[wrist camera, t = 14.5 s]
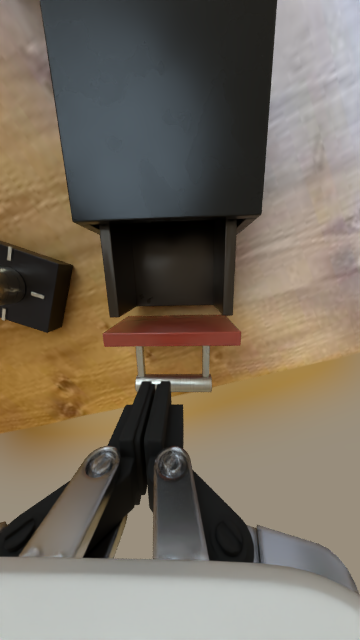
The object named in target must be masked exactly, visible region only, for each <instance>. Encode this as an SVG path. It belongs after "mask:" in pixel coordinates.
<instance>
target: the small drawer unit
mask: <svg viewBox="0 0 360 640" xmlns="http://www.w3.org/2000/svg"><path fill="white" fill-rule="evenodd" d="M40 6H41V12H42V19H43V26H44V33H45V39H46V46H47V53H48V59H49V66H50V73H51V80H52V86H53V93H54V100H55V106H56V113H57V120H58V127H59V133H60V140H61V147H62V153H63V160H64V167H65V174H66V180H67V187H68V194H69V200H70V207H71V214H72V221H73V222H74V223H76V224H78V225H80V226H82V227H84V228H87V229H89V230H91V231H93V232H95V233H97V234H99V235H100V230H99V224H116V223H142V222H168V221H195V220H221V219H237V229H236V235H237V234H238V233H240V232H241V231H242V230H243V229H244V228H246V227H247V226H248V225H249V224H251V223H252V222H253V221H254V220H255V219H257V218H258V217H259V216H260V215H261V214H262V200H263V187H264V173H265V159H266V146H267V132H268V118H269V105H270V91H271V77H272V63H273V50H274V36H275V22H276V9H277V0H40Z"/></svg>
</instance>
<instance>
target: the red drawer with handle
mask: <svg viewBox="0 0 360 640" xmlns="http://www.w3.org/2000/svg"><path fill="white" fill-rule="evenodd" d="M236 229H237V219H221V220H195V221H168V222H142V223H116V224H99V230H100V238H101V247H102V255H103V264H104V272H105V281H106V289H107V297H108V306H109V314H110V317H120V316H122V315H123V314H125V313H127V312H128V311H130V310H132V309H133V308H135V307H136V306H179V305H214V306H215V307H216V308H217V309H218V311H219V312H220V313H221V314H222V315H164V316H128V317H126V318H125V319H123V320H122V321H120V322H119V323H118V324H116V325H115V326H113V327H112V328H110V329H109V330H107V331H106V332H104V333H103V341H104V346H105V347H120V346H136V356H137V367H138V375H137V377H136V382H135V388H136V391H137V392H138V390H139V387H140V385H141V382H142V381H152V384H155V388H156V387H157V384H160V383H161V381H170V383H171V392H211V391H212V379H211V374H209V354H210V346H235V345H240V344H241V331H240V330H239V329H238V328H237V327H236V326H235V325H234V324H233V323H232V322H231V321H230V320H229V319H228V318H227V317H226V316H228V315H233V296H234V274H235V251H236ZM144 346H202V374H146V371H145V358H144Z"/></svg>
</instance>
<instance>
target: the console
mask: <svg viewBox="0 0 360 640" xmlns="http://www.w3.org/2000/svg"><path fill="white" fill-rule="evenodd" d="M0 266H7V267H10V268H12V269H14V270H15V271H17V272H18V273H19V274H20V276H21V277H22V279H23V281H24V283H25V294H24V297H23V298H22V299H21V300H20V301H19V302H17V303H13V304H7V305H1V306H0V318H2V320H4V321H5V320H9V321H13V322H16V323H19V324H22V325H25V326H28V327H31V328H34V329H37V330H40V331H43V332H47V333H48V332H51V331H53V330H55V329H58V328H60V327H62V323H63V317H64V312H65V306H66V301H67V295H68V290H69V284H70V279H71V273H72V268H73V265H71V264H68V263H65V262H62V261H59V260H56V259H53V258H50V257H47V256H44V255H41V254H38V253H35V252H33V251H30V250H27V249H24V248H21V247H18V246H15V245H12V244H9V243H6V242H3V241H0Z"/></svg>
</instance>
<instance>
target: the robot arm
mask: <svg viewBox="0 0 360 640" xmlns="http://www.w3.org/2000/svg"><path fill="white" fill-rule="evenodd" d="M147 484H148V495H149V506H150V509H151V510H152V512H153V559H114V556H115V553H116V550H117V547H118V544H119V542H120V539H121V536H122V533H123V530H124V527H125V524H126V520H127V514H128V513H129V512H130V511H131V510H132V509H133V508H134V505H139V504H140V499H141V495H145V493H146V489H147ZM0 640H360V595H359V592H358V590H357V587H356V585H355V583H354V580H353V579H352V577H351V575H350V573H349V571H348V570H347V568H346V567H345V565H344V564H343V563H342V562H341V560H340V559H339V558H338V557H337V556H336V555H335V554H333V553H332V552H331V551H330V550H329V549H328V548H326V547H324V546H322V545H320V544H317V543H314V542H311V541H307V540H305V539H301V538H298V537H295V536H292V535H288V534H285V533H282V532H279V531H275V530H272V529H269V528H266V527H263V526H260V525H257V528H254V527H251V526H248V525H246V524H245V523H244V522H243V520H242V519H241V518H240V517H239V516H238V515H237V514H236V513H235V512H234V511H233V510H232V509H231V508H230V507H229V506H228V505H227V504H226V503H225V502H224V501H223V500H222V499H221V498H220V497H219V496H218V495H217V494H216V493H215V492H214V491H213V490H212V489H211V488H210V487H209V486H208V485H207V484H206V483H205V482H204V481H203V480H202V479H201V478H200V477H199V476H198V475H197V474H196V473H195V472H194V471H193V470H192V466H191V461H190V457H189V455H188V453H187V452H186V451H185V450H184V449H183V405H171V383H170V381H161V383H160V384H157V387H156V388H155V384H152V381H142V382H141V385H140V387H139V390H138V392H137V395H136V397H135V400H134V403H133V405H126V406H125V408H124V410H123V412H122V415H121V417H120V419H119V422H118V423H117V426H116V428H115V430H114V432H113V435H112V437H111V439H110V441H109V444H108V446H104V447H100V448H98V449H96V450H94V451H93V452H92V453H90V454H89V455H88V457H87V458H86V459H85V460H84V462H83V463H82V464H81V466H80V467H79V469H78V470H77V472H76V473H75V475H74V476H73V478H72V479H71V480H70V481H69V482H67V483H66V484H65V485H63V486H62V487H60V488H59V489H57V490H56V491H54V492H53V493H51V494H50V495H49V496H47V497H46V498H44V499H43V500H41V501H40V502H38V503H37V504H36V505H34V506H33V507H31V508H30V509H28V510H27V511H25V512H24V513H22V514H21V515H19V516H18V517H17V518H16V519H15V520H13V521H12V522H11V523H10V524H8V525H7V524H6V522H1V523H0Z"/></svg>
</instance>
